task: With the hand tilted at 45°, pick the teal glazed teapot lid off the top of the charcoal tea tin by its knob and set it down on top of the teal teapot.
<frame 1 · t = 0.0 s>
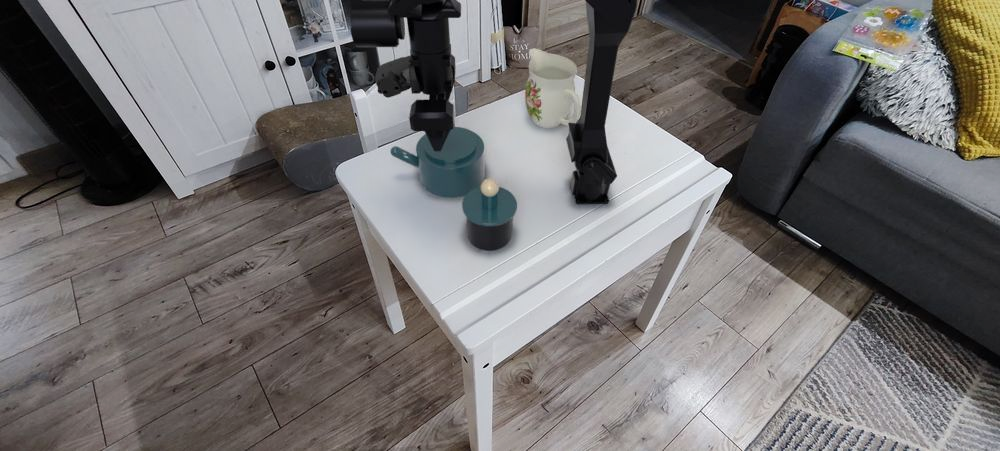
hand: (438, 133, 77), 15 cm above the table, tool pointing down, fingers open, 9 cm apart
teapot lid: (489, 206, 77), point 7 cm above the table, touching tea tin
tea tin: (489, 233, 82), on the table
pitcher: (549, 122, 106), on the table
teapot: (452, 175, 92), on the table
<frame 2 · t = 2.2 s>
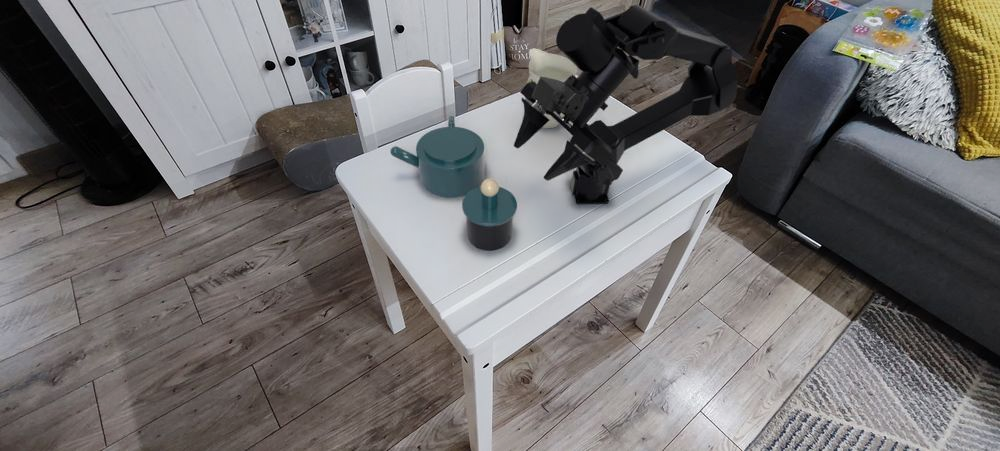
hand: (529, 162, 75), 13 cm above the table, tool tilted 45°, fingers open, 9 cm apart
nothing on the table moved.
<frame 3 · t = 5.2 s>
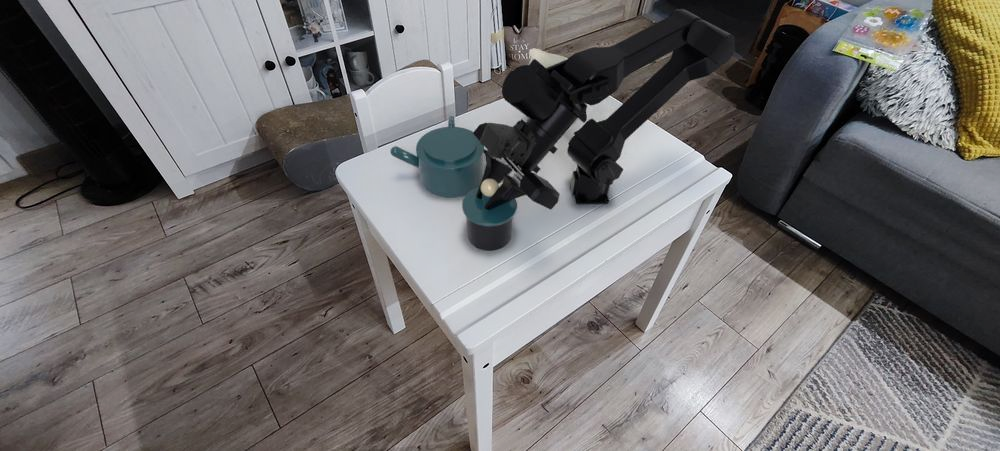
hand: (482, 203, 75), 8 cm above the table, tool tilted 45°, fingers closed on teapot lid, 3 cm apart
teapot lid: (489, 206, 77), point 7 cm above the table, touching gripper, tea tin
everything else where it was.
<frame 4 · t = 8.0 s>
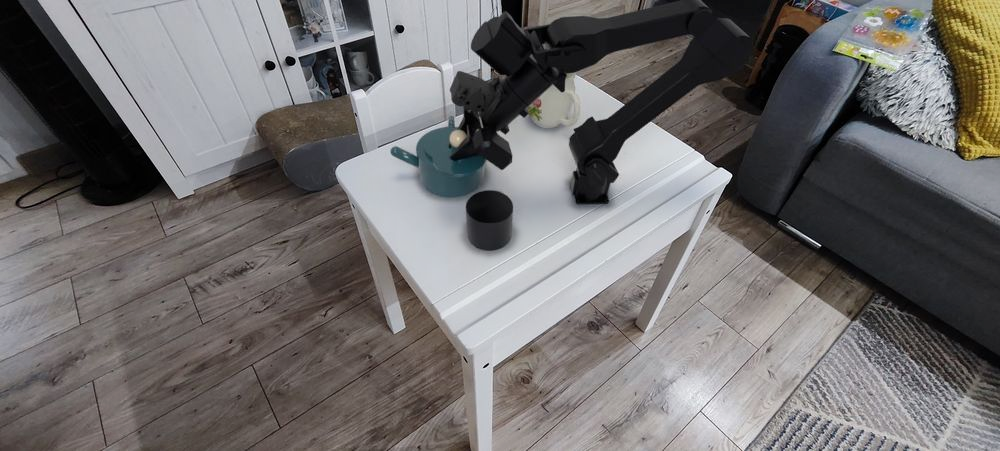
hand: (451, 153, 77), 13 cm above the table, tool tilted 45°, fingers closed on teapot lid, 3 cm apart
teapot lid: (459, 159, 78), point 11 cm above the table, touching gripper
everything else where it was.
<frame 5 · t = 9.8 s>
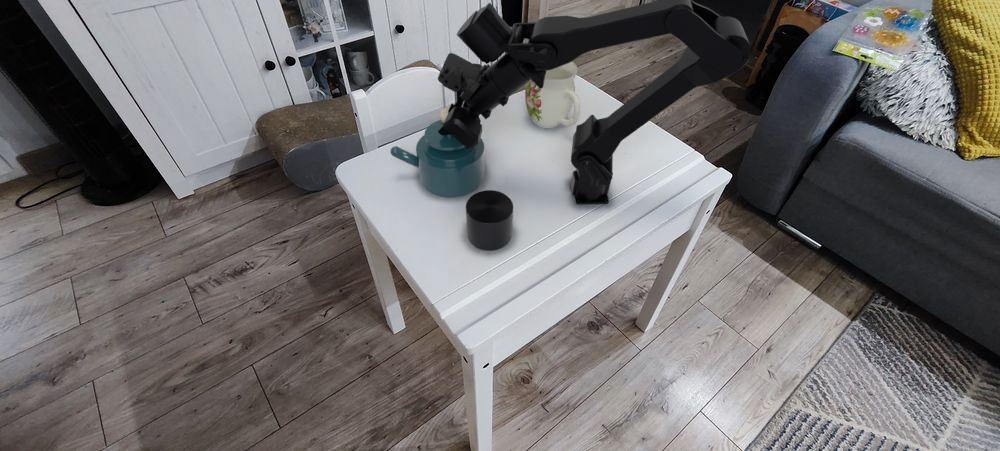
hand: (441, 128, 84), 11 cm above the table, tool tilted 45°, fingers closed on teapot lid, 3 cm apart
teapot lid: (449, 135, 85), point 10 cm above the table, touching gripper
everything else where it was.
when the fingers open (9 cm above the table, at t = 10.6 s): teapot lid stays where it is, resting on teapot.
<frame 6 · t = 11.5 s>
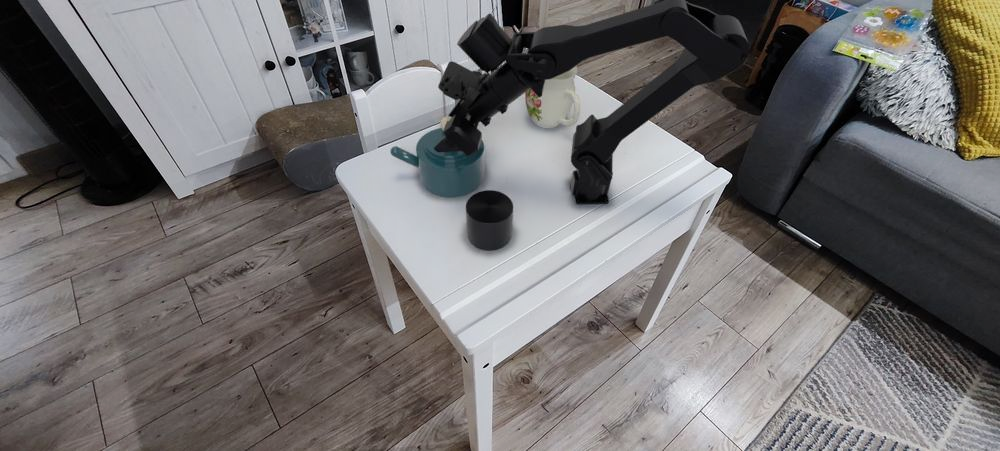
hand: (441, 134, 85), 10 cm above the table, tool tilted 45°, fingers open, 9 cm apart
teapot lid: (449, 143, 86), point 8 cm above the table, touching teapot
everything else where it was.
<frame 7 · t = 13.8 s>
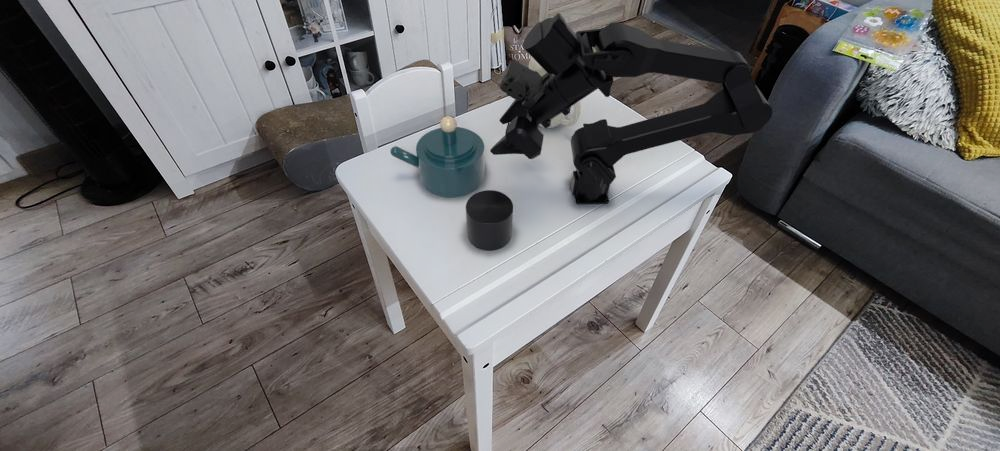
hand: (496, 136, 82), 11 cm above the table, tool tilted 45°, fingers open, 9 cm apart
nothing on the table moved.
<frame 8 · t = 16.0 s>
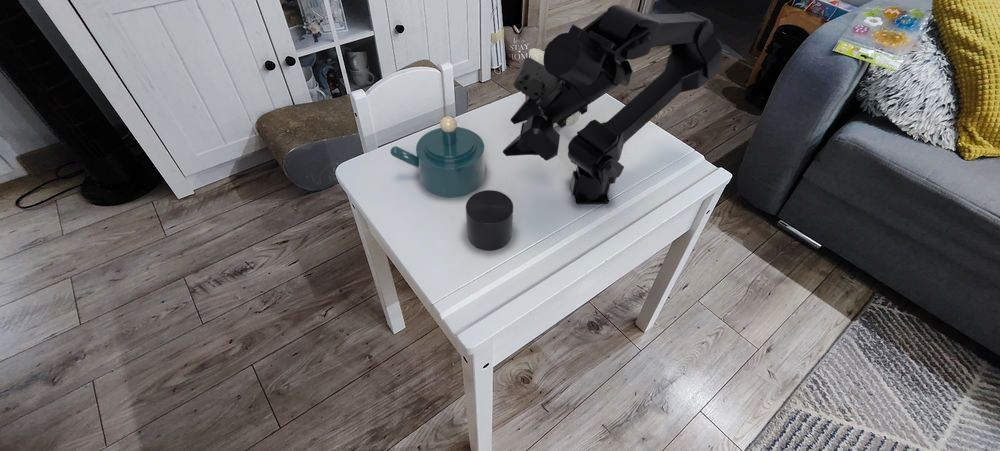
hand: (508, 137, 79), 14 cm above the table, tool tilted 45°, fingers open, 9 cm apart
nothing on the table moved.
at the end: teapot lid 0.0 cm off-centre on the teapot, point 8.0 cm above the teapot's base; teapot lid tilted 0°; the gripper is holding nothing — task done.
